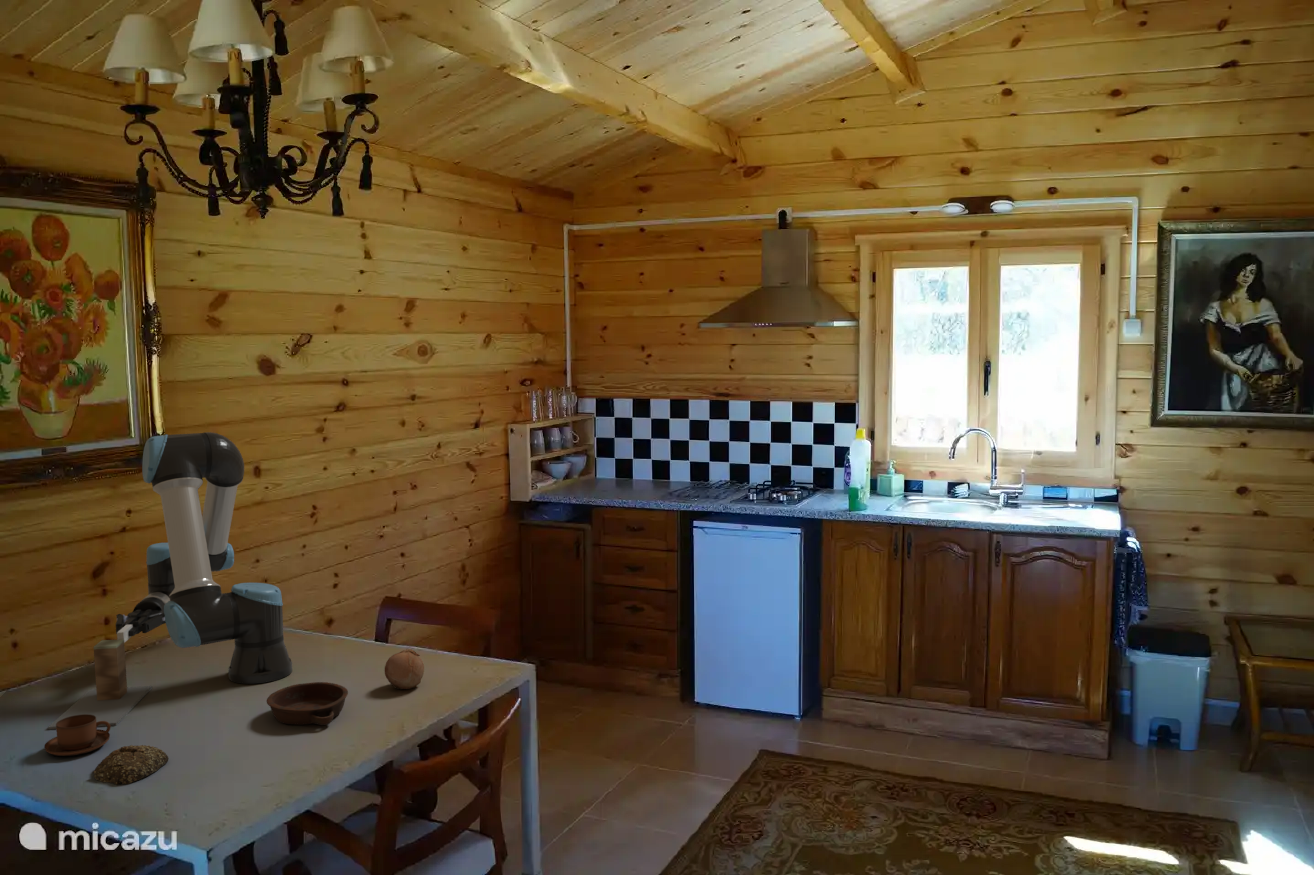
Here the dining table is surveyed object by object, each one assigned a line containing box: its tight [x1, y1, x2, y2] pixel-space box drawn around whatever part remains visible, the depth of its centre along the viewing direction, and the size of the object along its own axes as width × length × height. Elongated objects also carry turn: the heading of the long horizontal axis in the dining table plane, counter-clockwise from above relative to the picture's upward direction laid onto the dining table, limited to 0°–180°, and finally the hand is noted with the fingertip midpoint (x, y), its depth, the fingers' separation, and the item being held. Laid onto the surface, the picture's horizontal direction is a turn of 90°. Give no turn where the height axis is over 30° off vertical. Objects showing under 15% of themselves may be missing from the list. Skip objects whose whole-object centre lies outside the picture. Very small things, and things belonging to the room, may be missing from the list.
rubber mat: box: [47, 685, 153, 730], centre depth 237 cm, size 14×24×1 cm, turn 9°
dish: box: [266, 681, 349, 726], centre depth 232 cm, size 18×22×5 cm
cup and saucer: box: [44, 714, 112, 757], centre depth 214 cm, size 12×12×6 cm
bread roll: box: [93, 744, 169, 786], centre depth 204 cm, size 13×12×5 cm
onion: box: [384, 648, 425, 691], centre depth 250 cm, size 10×9×10 cm
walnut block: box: [93, 639, 128, 700], centre depth 243 cm, size 5×5×13 cm
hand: (120, 637), depth 250 cm, fingers closed
